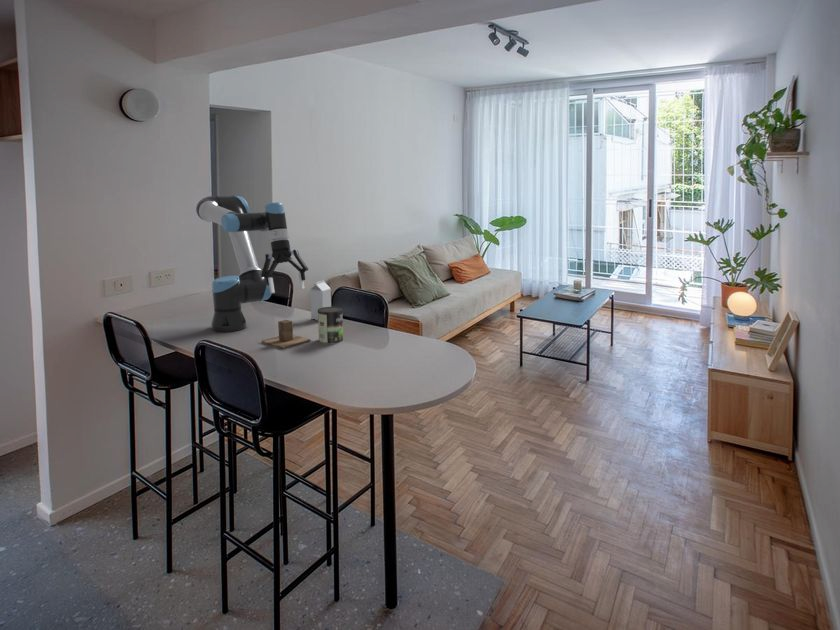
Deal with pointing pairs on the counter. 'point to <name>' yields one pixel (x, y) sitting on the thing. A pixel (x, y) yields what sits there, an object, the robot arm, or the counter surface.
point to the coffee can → (330, 325)
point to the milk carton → (319, 297)
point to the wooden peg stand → (285, 337)
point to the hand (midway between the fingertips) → (287, 290)
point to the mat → (287, 348)
